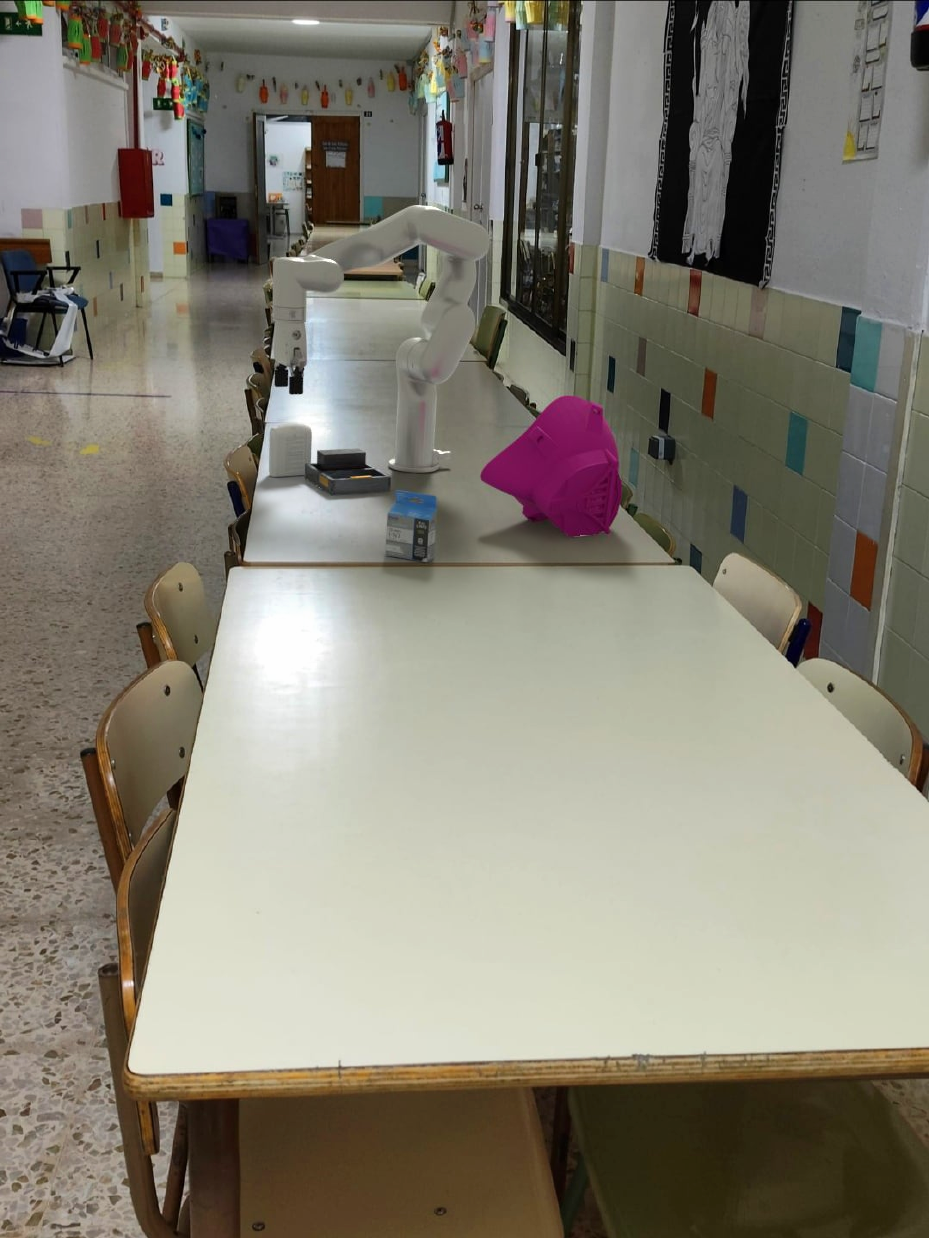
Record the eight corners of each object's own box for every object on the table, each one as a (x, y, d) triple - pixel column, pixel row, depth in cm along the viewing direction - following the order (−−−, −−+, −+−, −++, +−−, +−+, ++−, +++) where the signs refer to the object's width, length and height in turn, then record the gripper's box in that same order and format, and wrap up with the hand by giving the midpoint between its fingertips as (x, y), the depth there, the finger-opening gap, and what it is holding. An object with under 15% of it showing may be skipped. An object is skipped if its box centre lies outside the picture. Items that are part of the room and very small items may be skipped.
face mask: (638, 550, 257) (509, 577, 248) (592, 495, 274) (469, 518, 264) (656, 437, 240) (518, 461, 231) (605, 386, 256) (474, 406, 247)
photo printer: (305, 471, 290) (306, 420, 286) (313, 475, 287) (314, 423, 282) (266, 474, 285) (266, 422, 280) (274, 478, 281) (274, 426, 277)
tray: (362, 474, 290) (363, 446, 288) (390, 491, 277) (391, 461, 274) (304, 478, 283) (304, 449, 281) (330, 495, 270) (331, 465, 267)
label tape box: (384, 556, 230) (386, 493, 226) (393, 550, 234) (395, 489, 229) (426, 563, 227) (430, 500, 223) (434, 558, 231) (438, 495, 227)
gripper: (319, 319, 267) (317, 396, 273) (291, 310, 281) (290, 383, 287) (286, 319, 264) (286, 397, 270) (261, 309, 278) (260, 384, 284)
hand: (288, 390), depth 278 cm, fingers open, 9 cm apart
